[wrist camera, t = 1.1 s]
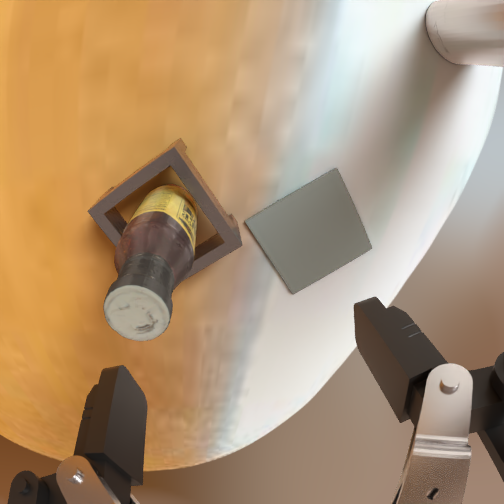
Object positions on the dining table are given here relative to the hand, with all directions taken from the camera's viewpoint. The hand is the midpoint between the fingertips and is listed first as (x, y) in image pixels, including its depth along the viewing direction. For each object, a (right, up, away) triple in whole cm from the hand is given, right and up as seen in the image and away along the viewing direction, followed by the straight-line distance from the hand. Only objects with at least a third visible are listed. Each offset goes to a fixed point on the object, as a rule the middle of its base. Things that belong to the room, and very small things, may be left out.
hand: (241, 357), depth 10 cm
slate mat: (+8, +6, +28) cm, 30 cm away
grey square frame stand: (-9, +8, +25) cm, 27 cm away
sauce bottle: (-9, +8, +25) cm, 28 cm away
